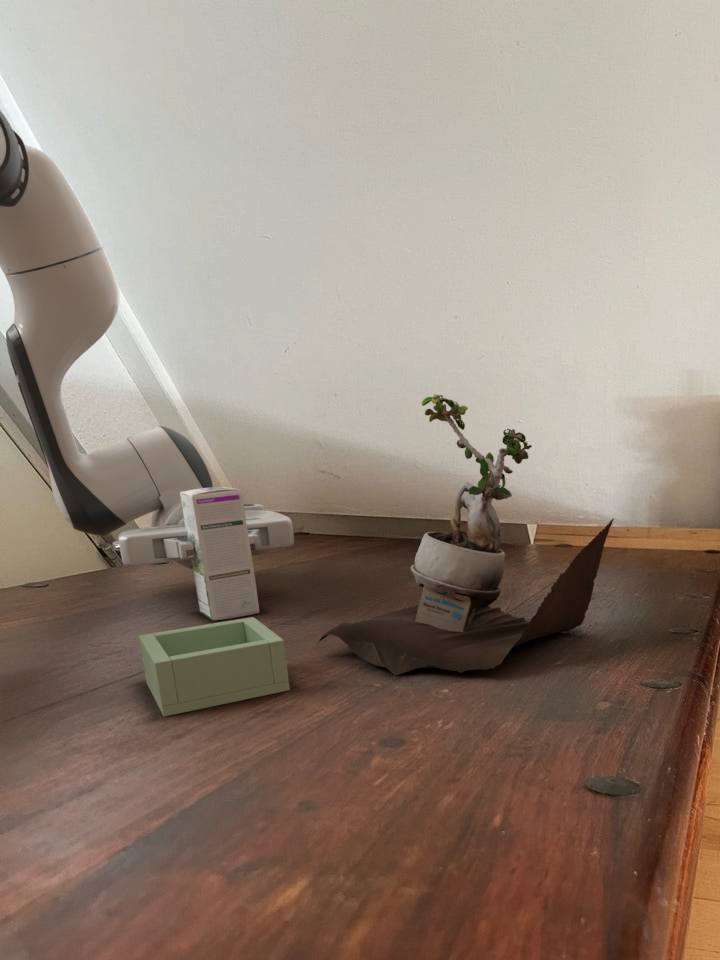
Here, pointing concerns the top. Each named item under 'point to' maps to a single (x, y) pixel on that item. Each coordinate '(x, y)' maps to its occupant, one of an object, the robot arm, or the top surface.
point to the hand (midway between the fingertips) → (221, 546)
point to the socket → (213, 664)
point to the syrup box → (220, 552)
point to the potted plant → (470, 582)
